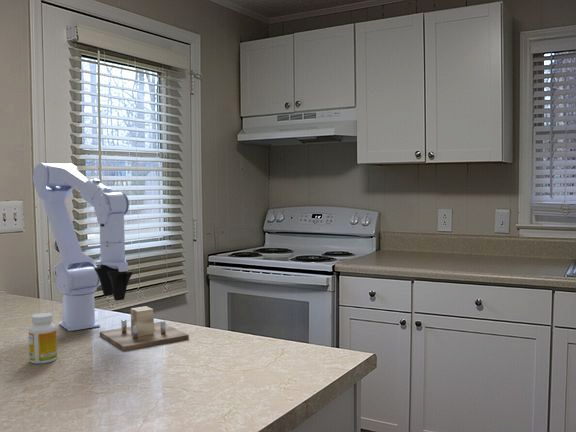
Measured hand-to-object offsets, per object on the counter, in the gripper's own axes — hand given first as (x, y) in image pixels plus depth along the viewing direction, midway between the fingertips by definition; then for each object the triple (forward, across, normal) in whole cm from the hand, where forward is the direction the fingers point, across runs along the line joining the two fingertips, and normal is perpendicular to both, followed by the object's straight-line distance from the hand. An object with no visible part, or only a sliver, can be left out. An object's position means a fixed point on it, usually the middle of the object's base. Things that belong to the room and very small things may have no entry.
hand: (113, 297), depth 142 cm
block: (+8, +6, +5) cm, 11 cm away
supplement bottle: (+10, +10, -19) cm, 24 cm away
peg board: (+9, +6, +5) cm, 12 cm away
